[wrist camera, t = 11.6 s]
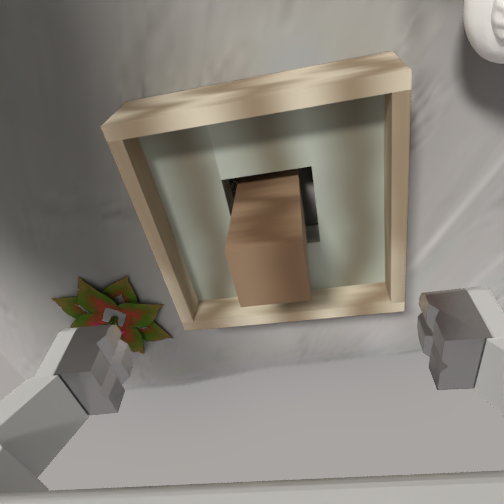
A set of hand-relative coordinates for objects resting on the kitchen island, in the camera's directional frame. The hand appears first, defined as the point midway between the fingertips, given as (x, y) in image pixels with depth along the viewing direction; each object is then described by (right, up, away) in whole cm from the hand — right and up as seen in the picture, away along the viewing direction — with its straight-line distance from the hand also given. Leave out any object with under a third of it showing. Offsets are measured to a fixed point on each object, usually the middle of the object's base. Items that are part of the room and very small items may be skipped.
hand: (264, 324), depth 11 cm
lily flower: (-14, -4, +32) cm, 35 cm away
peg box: (+1, +6, +21) cm, 22 cm away
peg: (+1, +6, +21) cm, 22 cm away
